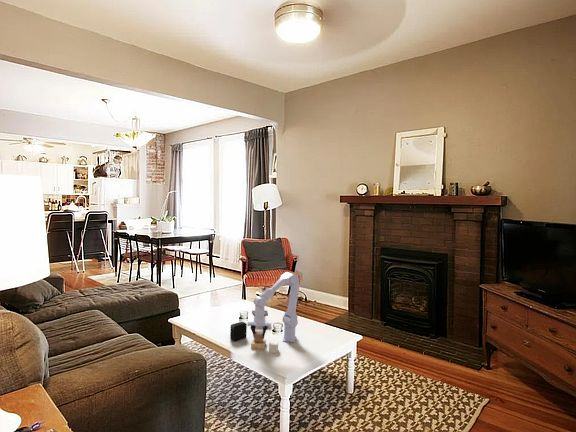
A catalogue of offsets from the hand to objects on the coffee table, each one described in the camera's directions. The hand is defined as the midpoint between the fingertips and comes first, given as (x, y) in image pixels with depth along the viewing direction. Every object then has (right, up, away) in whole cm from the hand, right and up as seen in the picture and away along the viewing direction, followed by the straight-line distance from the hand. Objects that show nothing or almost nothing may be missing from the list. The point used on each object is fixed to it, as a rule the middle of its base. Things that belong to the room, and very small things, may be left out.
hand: (258, 337), depth 226 cm
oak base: (0, -5, 0) cm, 5 cm away
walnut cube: (0, -2, 0) cm, 2 cm away
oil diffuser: (-3, -4, +41) cm, 41 cm away
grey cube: (+9, -6, -6) cm, 12 cm away
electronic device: (-14, -5, +11) cm, 18 cm away
